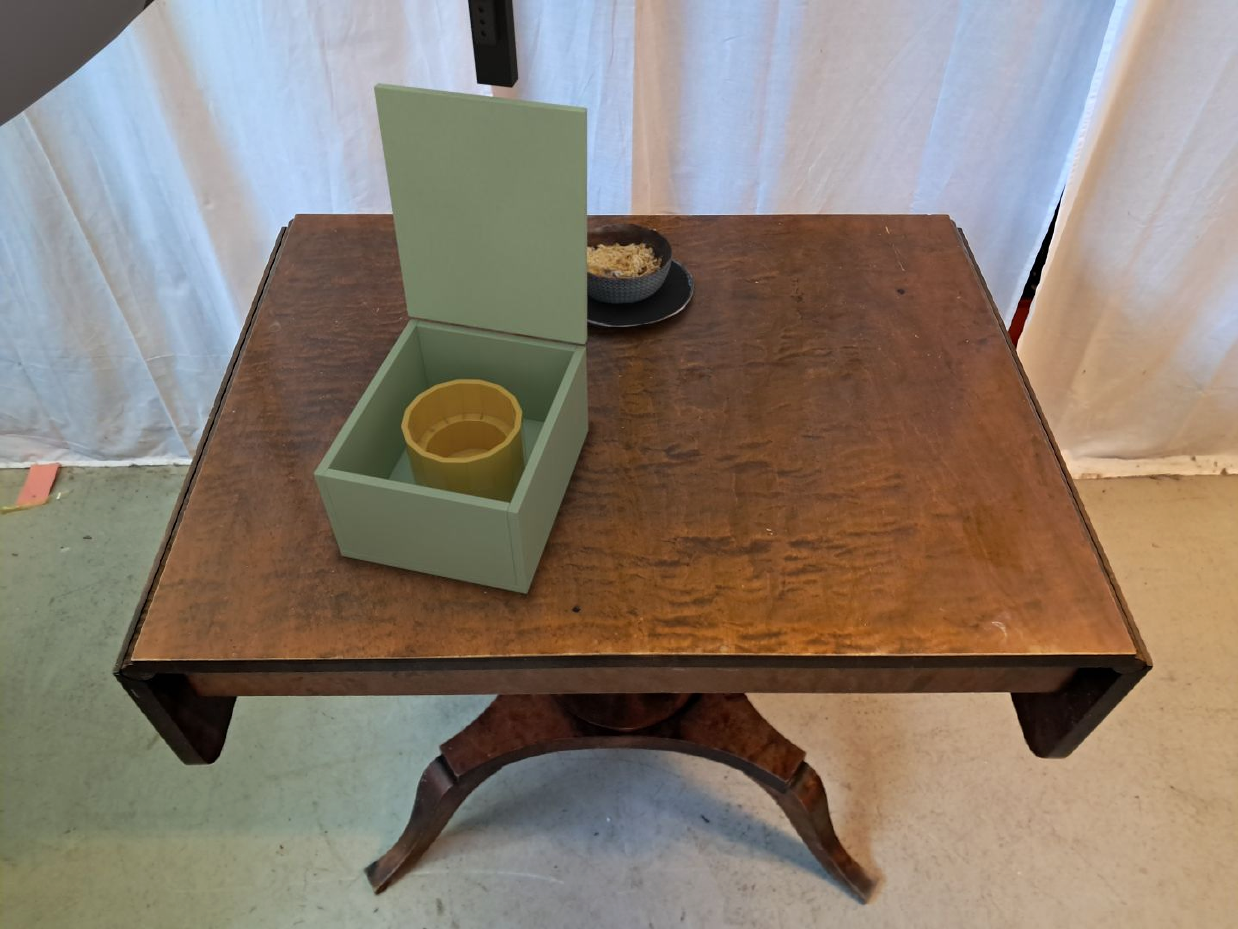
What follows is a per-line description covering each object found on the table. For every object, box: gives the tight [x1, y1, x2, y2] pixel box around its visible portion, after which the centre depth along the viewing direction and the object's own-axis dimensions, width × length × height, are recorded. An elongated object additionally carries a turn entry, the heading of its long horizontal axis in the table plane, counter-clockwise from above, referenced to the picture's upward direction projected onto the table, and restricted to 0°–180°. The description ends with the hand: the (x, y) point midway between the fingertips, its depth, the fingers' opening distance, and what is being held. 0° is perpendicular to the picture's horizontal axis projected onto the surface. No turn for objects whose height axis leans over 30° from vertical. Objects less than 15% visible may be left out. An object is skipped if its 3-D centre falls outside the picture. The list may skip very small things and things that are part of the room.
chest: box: [313, 318, 589, 595], centre depth 77 cm, size 19×16×10 cm
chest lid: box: [373, 82, 588, 345], centre depth 73 cm, size 19×16×1 cm
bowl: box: [401, 379, 527, 503], centre depth 77 cm, size 9×9×8 cm
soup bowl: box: [587, 222, 695, 331], centre depth 97 cm, size 15×16×7 cm
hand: (497, 80), depth 69 cm, fingers closed
